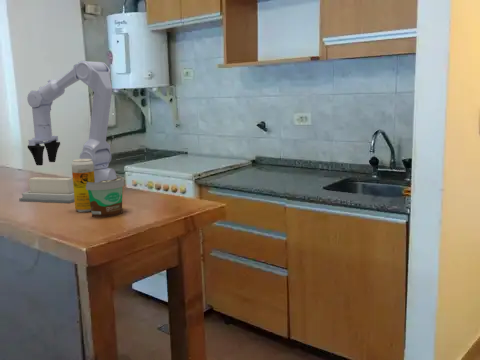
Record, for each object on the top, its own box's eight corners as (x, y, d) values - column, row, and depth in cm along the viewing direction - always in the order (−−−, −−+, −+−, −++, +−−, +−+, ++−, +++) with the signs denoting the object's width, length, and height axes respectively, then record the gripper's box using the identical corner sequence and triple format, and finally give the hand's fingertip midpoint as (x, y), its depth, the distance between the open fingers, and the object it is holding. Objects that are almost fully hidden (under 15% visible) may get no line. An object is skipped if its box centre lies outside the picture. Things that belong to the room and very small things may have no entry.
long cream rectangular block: (74, 196, 161) (72, 178, 160) (69, 198, 158) (67, 180, 157) (36, 195, 164) (34, 177, 163) (30, 196, 162) (28, 178, 160)
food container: (103, 220, 134) (100, 184, 132) (88, 217, 137) (85, 182, 135) (135, 210, 144) (133, 177, 142) (120, 208, 148) (118, 175, 146)
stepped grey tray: (85, 196, 164) (84, 190, 163) (70, 203, 155) (69, 196, 155) (36, 195, 168) (35, 188, 168) (19, 201, 159) (18, 194, 159)
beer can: (77, 213, 142) (73, 162, 139) (73, 209, 147) (69, 159, 144) (98, 210, 145) (95, 160, 142) (94, 206, 150) (90, 157, 147)
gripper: (44, 123, 181) (48, 160, 184) (19, 127, 167) (23, 166, 170) (62, 123, 179) (65, 160, 182) (37, 127, 166) (41, 166, 168)
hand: (46, 163), depth 176 cm, fingers open, 7 cm apart
